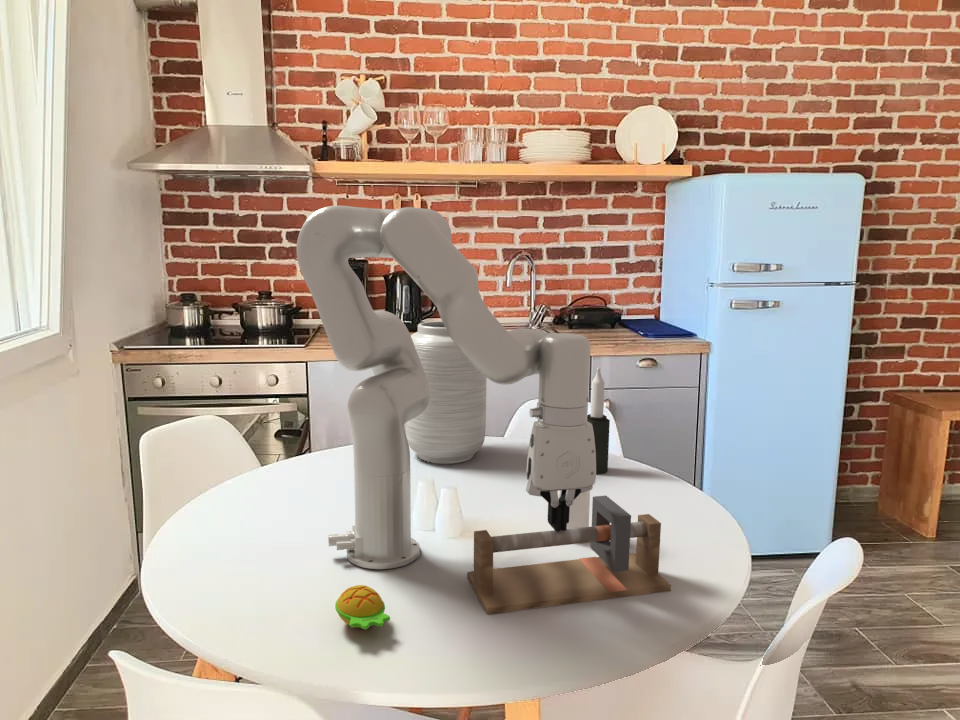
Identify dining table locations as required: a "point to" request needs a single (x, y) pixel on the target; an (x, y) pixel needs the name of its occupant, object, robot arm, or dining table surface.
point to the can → (579, 511)
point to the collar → (612, 533)
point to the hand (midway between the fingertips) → (557, 527)
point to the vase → (447, 400)
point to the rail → (564, 569)
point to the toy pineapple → (361, 607)
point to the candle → (599, 424)
